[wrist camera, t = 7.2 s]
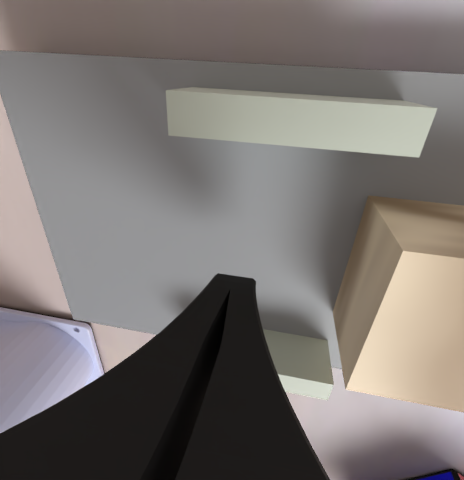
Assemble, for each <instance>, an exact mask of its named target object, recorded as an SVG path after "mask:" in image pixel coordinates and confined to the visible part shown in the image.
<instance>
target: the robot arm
mask: <svg viewBox="0 0 464 480" xmlns="http://www.w3.org/2000/svg"><path fill="white" fill-rule="evenodd" d="M0 480H330V479H329V477H328V475H327V474H326V472H325V470H324V468H323V466H322V464H321V463H320V461H319V459H318V457H317V455H316V453H315V452H314V450H313V448H312V446H311V444H310V442H309V440H308V438H307V436H306V434H305V432H304V430H303V428H302V426H301V424H300V422H299V420H298V418H297V416H296V414H295V412H294V410H293V408H292V406H291V404H290V402H289V399H288V397H287V395H286V392H285V390H284V388H283V386H282V383H281V381H280V378H279V376H278V373H277V371H276V368H275V366H274V363H273V360H272V357H271V354H270V351H269V348H268V345H267V342H266V339H265V335H264V332H263V328H262V324H261V320H260V316H259V311H258V305H257V299H256V281H255V280H254V279H253V278H247V277H240V276H233V275H227V274H220V273H218V274H216V275H215V276H214V277H213V278H212V280H211V281H210V282H209V283H208V284H207V286H206V287H205V288H204V289H203V290H202V291H201V292H200V294H199V295H198V296H197V297H196V298H195V299H194V300H193V301H192V302H191V303H190V304H189V305H188V306H187V307H186V308H185V309H184V310H183V311H182V312H181V313H180V314H179V315H178V316H177V317H176V318H175V319H174V320H173V321H172V322H171V323H169V324H168V325H167V326H166V327H165V328H164V329H163V330H162V331H161V332H160V333H158V334H157V335H156V336H155V337H154V338H152V339H151V340H150V341H149V342H148V343H146V344H145V345H144V346H142V347H141V348H140V349H139V350H137V351H136V352H135V353H133V354H132V355H131V356H129V357H128V358H126V359H125V360H124V361H122V362H121V363H119V364H118V365H117V366H115V367H114V368H112V369H111V370H109V371H108V372H106V373H105V374H104V371H103V368H102V364H101V361H100V357H99V354H98V350H97V347H96V343H95V340H94V336H93V333H92V329H91V327H90V326H89V325H88V324H86V323H82V322H77V321H72V320H66V319H61V318H56V317H50V316H45V315H40V314H34V313H29V312H23V311H18V310H13V309H7V308H2V307H0Z"/></svg>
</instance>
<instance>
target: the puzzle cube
mask: <svg viewBox="0 0 464 480" xmlns="http://www.w3.org/2000/svg"><path fill="white" fill-rule="evenodd" d="M408 480H464V477H463V476H462V475H460V474H459V473H458V472H456V471H454V470H453V469H450V470H446V471H442V472H437V473H433V474H429V475H425V476H421V477H417V478H412V479H408Z"/></svg>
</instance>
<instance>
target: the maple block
mask: <svg viewBox="0 0 464 480" xmlns="http://www.w3.org/2000/svg"><path fill="white" fill-rule="evenodd" d="M333 317H334V323H335V329H336V335H337V341H338V347H339V353H340V359H341V365H342V371H343V377H344V383H345V389H346V390H351V391H356V392H362V393H367V394H372V395H377V396H382V397H387V398H392V399H398V400H403V401H408V402H413V403H418V404H423V405H428V406H434V407H439V408H444V409H449V410H454V411H459V412H464V206H463V205H454V204H444V203H435V202H425V201H416V200H407V199H397V198H388V197H378V196H369V195H368V198H367V201H366V205H365V208H364V211H363V214H362V218H361V221H360V224H359V228H358V231H357V234H356V237H355V241H354V244H353V247H352V250H351V254H350V257H349V260H348V263H347V267H346V270H345V273H344V276H343V280H342V283H341V286H340V289H339V293H338V296H337V299H336V303H335V306H334V309H333Z"/></svg>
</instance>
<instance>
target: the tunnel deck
mask: <svg viewBox="0 0 464 480" xmlns="http://www.w3.org/2000/svg"><path fill="white" fill-rule="evenodd" d="M0 94H1V97H2V100H3V103H4V107H5V110H6V113H7V116H8V119H9V122H10V125H11V128H12V131H13V134H14V137H15V141H16V144H17V147H18V150H19V153H20V156H21V159H22V162H23V165H24V168H25V172H26V175H27V178H28V181H29V184H30V187H31V190H32V193H33V196H34V199H35V203H36V206H37V209H38V212H39V215H40V218H41V221H42V224H43V227H44V230H45V233H46V237H47V240H48V243H49V246H50V249H51V252H52V255H53V258H54V261H55V264H56V268H57V271H58V274H59V277H60V280H61V283H62V286H63V289H64V292H65V295H66V299H67V302H68V305H69V308H70V311H71V314H72V317H73V319H75V320H80V321H85V322H91V323H96V324H101V325H107V326H112V327H118V328H123V329H128V330H134V331H139V332H145V333H150V334H155V335H157V334H158V333H160V332H161V331H162V330H163V329H164V328H165V327H166V326H167V325H168V324H169V323H171V322H172V321H173V320H174V319H175V318H176V317H177V316H178V315H179V314H180V313H181V312H182V311H183V310H184V309H185V308H186V307H187V306H188V305H189V304H190V303H191V302H192V301H193V300H194V299H195V298H196V297H197V296H198V295H199V294H200V292H201V291H202V290H203V289H204V288H205V287H206V286H207V284H208V283H209V282H210V281H211V280H212V278H213V277H214V276H215V275H216V274H218V273H220V274H227V275H233V276H240V277H247V278H253V279H254V280H255V281H256V299H257V305H258V311H259V316H260V320H261V324H262V328H263V332H264V335H265V339H266V342H267V345H268V348H269V351H270V354H271V357H272V360H273V363H274V366H275V368H276V371H277V373H278V376H279V378H280V381H281V383H282V386H283V388H284V390H285V392H288V393H293V394H298V395H303V396H308V397H313V398H318V399H323V400H327V401H328V399H329V396H330V393H331V391H332V388H333V385H334V384H333V376H332V369H331V367H333V368H338V369H342V365H341V359H340V353H339V347H338V341H337V335H336V329H335V323H334V317H333V309H334V306H335V303H336V299H337V296H338V293H339V289H340V286H341V283H342V280H343V276H344V273H345V270H346V267H347V263H348V260H349V257H350V254H351V250H352V247H353V244H354V241H355V237H356V234H357V231H358V228H359V224H360V221H361V218H362V214H363V211H364V208H365V205H366V201H367V198H368V195H369V196H378V197H388V198H397V199H407V200H416V201H425V202H435V203H444V204H454V205H463V206H464V74H452V73H432V72H413V71H393V70H374V69H354V68H334V67H315V66H295V65H276V64H256V63H237V62H217V61H198V60H178V59H158V58H139V57H119V56H100V55H80V54H61V53H41V52H22V51H2V50H0Z"/></svg>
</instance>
